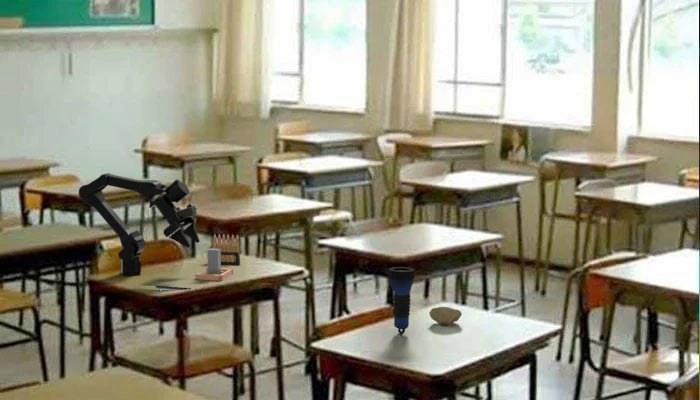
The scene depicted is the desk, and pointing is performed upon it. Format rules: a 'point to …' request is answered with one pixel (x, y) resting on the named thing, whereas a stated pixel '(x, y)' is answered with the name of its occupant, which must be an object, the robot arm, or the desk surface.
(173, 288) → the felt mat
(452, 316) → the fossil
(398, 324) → the flashlight
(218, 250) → the grey rectangular block
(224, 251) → the ammunition clip
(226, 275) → the slotted box
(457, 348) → the desk surface
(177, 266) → the desk surface
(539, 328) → the desk surface
